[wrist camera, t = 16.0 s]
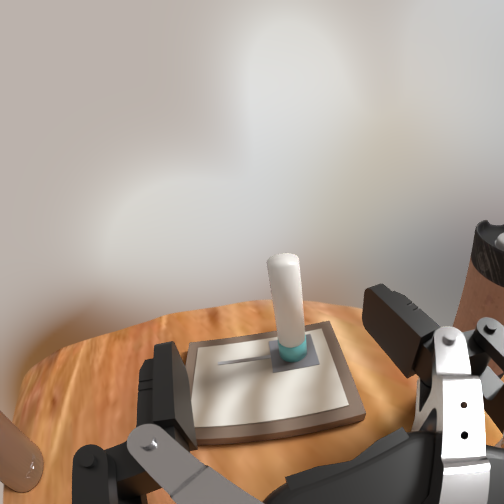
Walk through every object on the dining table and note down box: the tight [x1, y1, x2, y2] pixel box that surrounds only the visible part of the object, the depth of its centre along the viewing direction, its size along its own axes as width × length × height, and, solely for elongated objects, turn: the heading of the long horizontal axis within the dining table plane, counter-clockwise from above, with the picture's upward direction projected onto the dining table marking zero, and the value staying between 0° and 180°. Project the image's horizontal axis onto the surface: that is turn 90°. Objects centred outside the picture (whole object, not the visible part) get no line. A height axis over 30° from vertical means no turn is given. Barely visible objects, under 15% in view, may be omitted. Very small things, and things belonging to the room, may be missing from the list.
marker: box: [267, 253, 307, 362], centre depth 31 cm, size 3×3×13 cm
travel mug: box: [453, 220, 504, 379], centre depth 18 cm, size 8×8×20 cm
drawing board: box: [185, 321, 366, 445], centre depth 32 cm, size 20×16×2 cm
